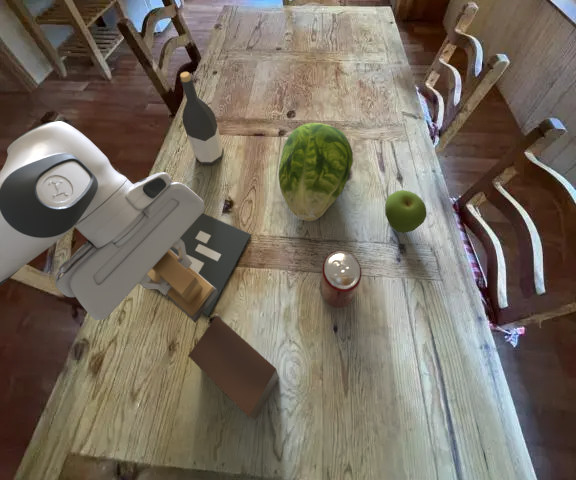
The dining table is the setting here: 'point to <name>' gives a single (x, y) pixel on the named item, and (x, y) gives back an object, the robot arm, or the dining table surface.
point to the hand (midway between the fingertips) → (178, 278)
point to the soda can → (340, 278)
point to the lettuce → (314, 169)
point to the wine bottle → (200, 125)
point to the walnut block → (235, 367)
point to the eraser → (184, 285)
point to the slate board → (213, 251)
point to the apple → (405, 211)
